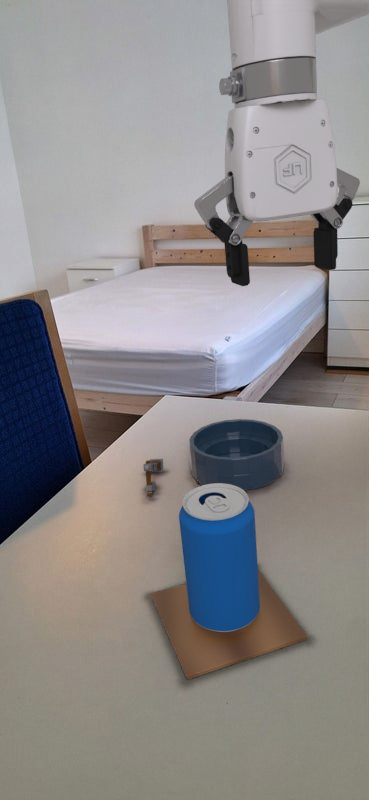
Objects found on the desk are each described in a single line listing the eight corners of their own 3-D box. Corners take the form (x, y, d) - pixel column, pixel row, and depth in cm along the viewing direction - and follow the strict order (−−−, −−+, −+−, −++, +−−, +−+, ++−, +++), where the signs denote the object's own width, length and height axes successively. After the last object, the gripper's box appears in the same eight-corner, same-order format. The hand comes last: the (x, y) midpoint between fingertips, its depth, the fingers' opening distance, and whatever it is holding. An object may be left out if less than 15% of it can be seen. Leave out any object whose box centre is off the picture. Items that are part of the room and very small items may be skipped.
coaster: (254, 566, 61) (254, 563, 61) (307, 639, 52) (307, 636, 51) (151, 597, 58) (151, 593, 58) (187, 680, 49) (186, 676, 48)
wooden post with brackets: (140, 497, 74) (139, 461, 75) (151, 490, 82) (149, 457, 83) (155, 497, 74) (153, 460, 74) (164, 489, 82) (162, 457, 82)
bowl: (259, 444, 88) (258, 412, 86) (300, 480, 77) (299, 445, 75) (181, 462, 84) (177, 430, 82) (211, 503, 73) (208, 467, 72)
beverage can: (241, 581, 59) (233, 474, 54) (273, 623, 53) (267, 507, 49) (179, 602, 57) (166, 492, 52) (206, 648, 51) (194, 529, 47)
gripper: (201, 90, 49) (219, 296, 55) (380, 74, 53) (378, 266, 60) (172, 101, 55) (191, 284, 62) (334, 87, 60) (336, 258, 66)
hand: (283, 275), depth 61 cm, fingers open, 9 cm apart
